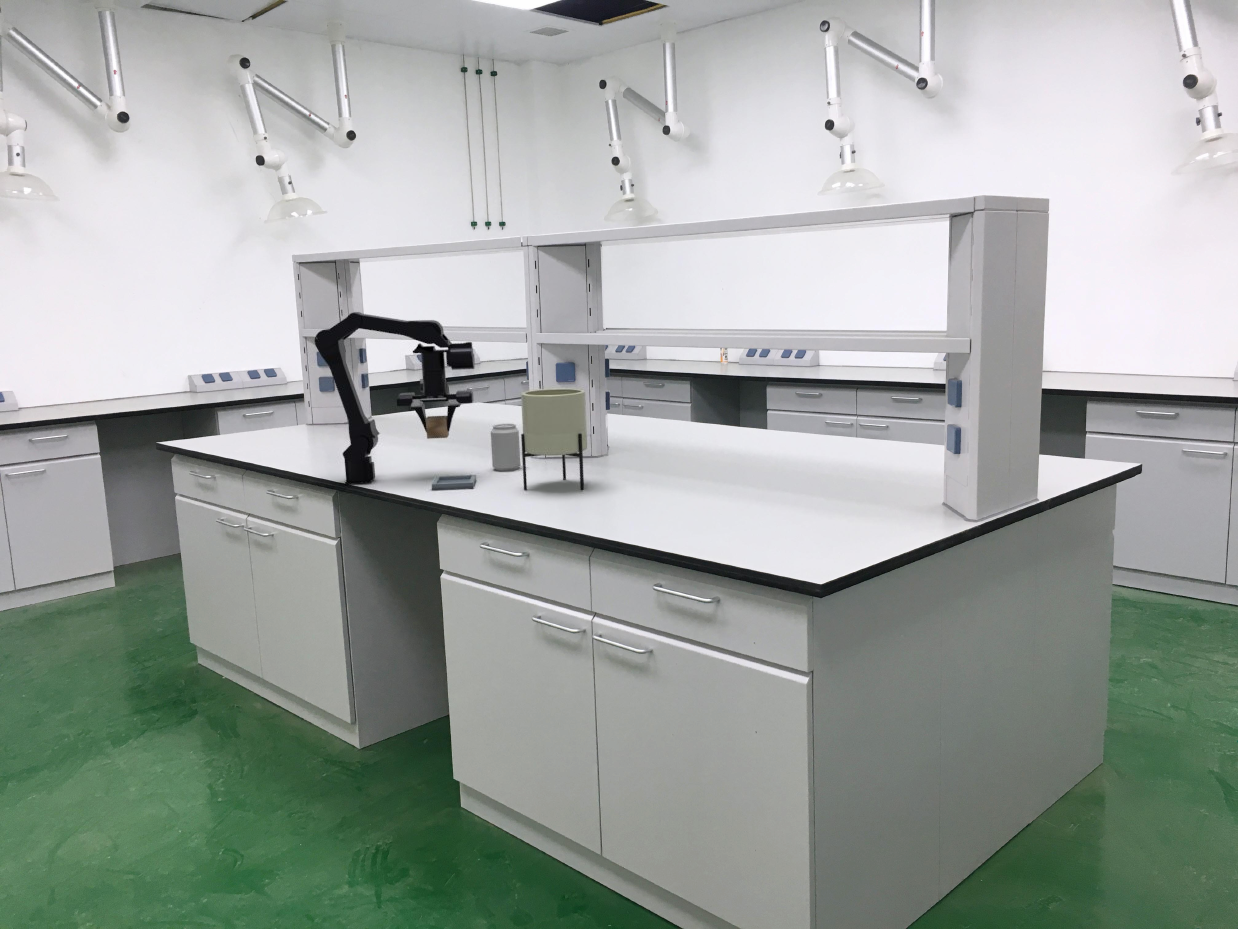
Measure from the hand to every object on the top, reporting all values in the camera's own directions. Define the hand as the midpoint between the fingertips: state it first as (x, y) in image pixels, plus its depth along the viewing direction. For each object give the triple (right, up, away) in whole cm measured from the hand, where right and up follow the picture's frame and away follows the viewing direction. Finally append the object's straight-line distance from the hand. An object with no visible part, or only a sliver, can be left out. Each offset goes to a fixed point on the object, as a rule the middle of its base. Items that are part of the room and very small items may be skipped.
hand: (437, 431), depth 248 cm
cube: (0, -1, 0) cm, 1 cm away
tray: (+6, -13, -7) cm, 16 cm away
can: (+16, -10, +12) cm, 22 cm away
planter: (+31, -14, -13) cm, 36 cm away
